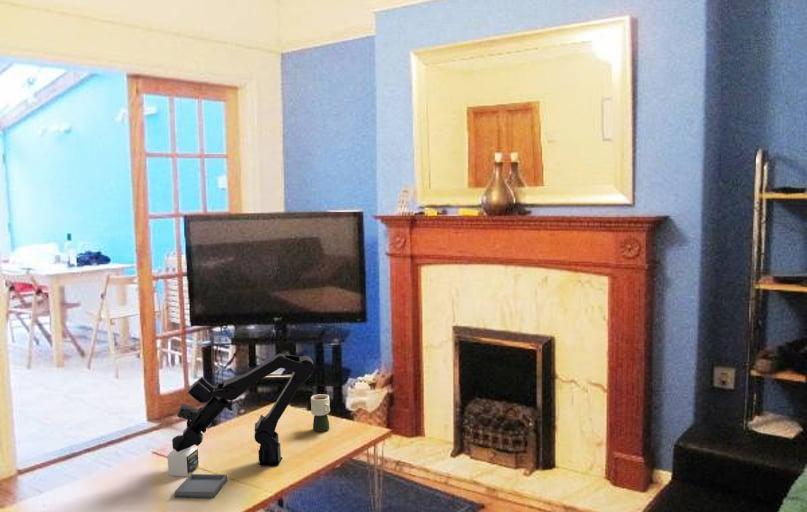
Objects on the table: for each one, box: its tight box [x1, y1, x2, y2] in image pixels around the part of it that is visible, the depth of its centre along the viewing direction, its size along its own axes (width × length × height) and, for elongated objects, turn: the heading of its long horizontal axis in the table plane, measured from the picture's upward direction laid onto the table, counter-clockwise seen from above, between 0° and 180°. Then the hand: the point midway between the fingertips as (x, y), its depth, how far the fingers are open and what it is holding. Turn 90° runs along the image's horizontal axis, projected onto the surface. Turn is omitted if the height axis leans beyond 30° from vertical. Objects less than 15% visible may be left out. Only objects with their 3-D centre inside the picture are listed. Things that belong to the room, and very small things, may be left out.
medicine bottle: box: [167, 434, 200, 478], centre depth 216 cm, size 7×7×12 cm
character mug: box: [310, 393, 331, 432], centre depth 251 cm, size 11×7×13 cm, turn 43°
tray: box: [174, 473, 228, 499], centre depth 204 cm, size 12×12×2 cm
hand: (177, 447), depth 216 cm, fingers closed on medicine bottle, 6 cm apart
